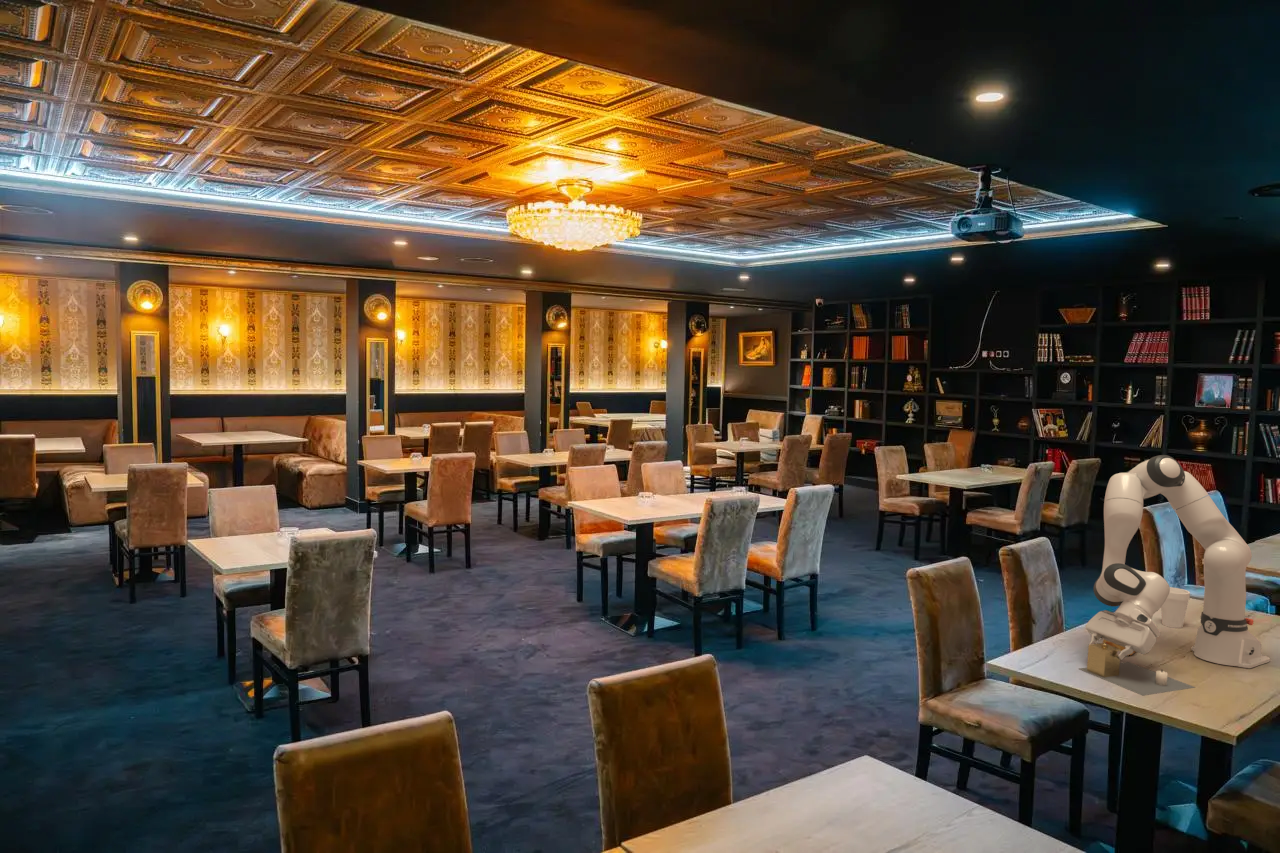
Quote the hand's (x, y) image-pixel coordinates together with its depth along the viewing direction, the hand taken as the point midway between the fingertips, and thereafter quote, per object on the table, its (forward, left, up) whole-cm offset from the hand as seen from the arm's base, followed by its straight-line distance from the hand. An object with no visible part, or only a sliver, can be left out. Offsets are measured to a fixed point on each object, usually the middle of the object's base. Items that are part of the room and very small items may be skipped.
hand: (1104, 652), depth 254 cm
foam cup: (-69, -30, -7) cm, 76 cm away
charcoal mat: (-5, +7, -7) cm, 11 cm away
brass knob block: (+1, +1, -6) cm, 6 cm away
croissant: (-24, -15, -7) cm, 29 cm away
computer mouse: (-8, +13, -6) cm, 16 cm away
